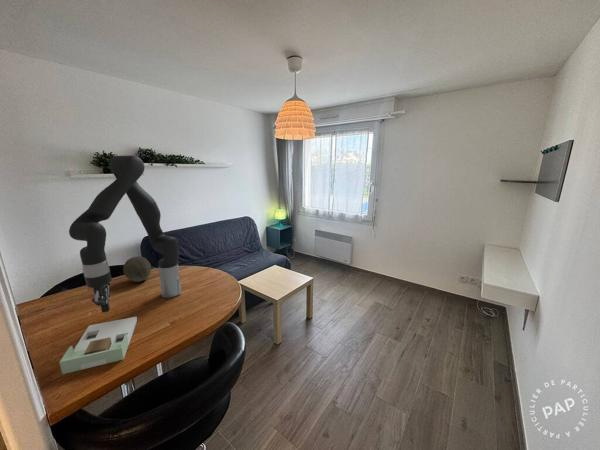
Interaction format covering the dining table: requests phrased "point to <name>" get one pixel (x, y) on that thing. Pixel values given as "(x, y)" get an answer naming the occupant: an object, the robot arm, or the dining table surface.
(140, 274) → the cantaloupe
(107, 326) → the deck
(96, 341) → the block
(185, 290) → the dining table surface
